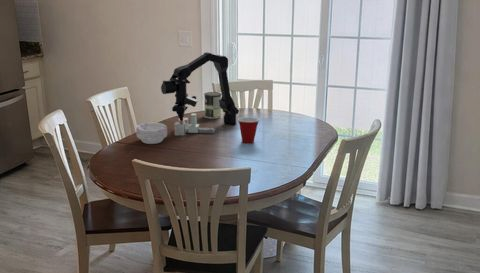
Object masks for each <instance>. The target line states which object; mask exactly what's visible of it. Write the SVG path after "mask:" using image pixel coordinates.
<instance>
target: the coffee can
mask: <svg viewBox="0 0 480 273" xmlns="http://www.w3.org/2000/svg"><path fill="white" fill-rule="evenodd" d="M203 95H204V115H203V116H204V118H206V119H213V120H214V119H219V118H221V117H222V109H221V107H220V106H219V105H220V103H219V100H220V99H221V97H222V94H221V92H218V91H208V92H204V93H203Z"/></svg>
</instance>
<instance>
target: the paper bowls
mask: <svg viewBox="0 0 480 273" xmlns="http://www.w3.org/2000/svg"><path fill="white" fill-rule="evenodd" d="M135 129H136V130H135V134H136V138H138V139H140V140H141V142H142V143H144V144H146V145H147V144H148V145H155V144H159V143H162V142H163V140H164V139H165V138H167V136H168V126H167V125H166V124H164V123H161V122H146V123H140V124H138V125H136V127H135Z"/></svg>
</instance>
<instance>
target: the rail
mask: <svg viewBox="0 0 480 273" xmlns="http://www.w3.org/2000/svg"><path fill="white" fill-rule="evenodd" d="M187 133H188V128H187V132H186V134H187ZM188 134H189V133H188ZM197 134H215V128H212V127H211V128H210V127H209V128H208V127H199V128H198V133H197Z"/></svg>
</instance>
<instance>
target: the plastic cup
mask: <svg viewBox="0 0 480 273" xmlns="http://www.w3.org/2000/svg"><path fill="white" fill-rule="evenodd" d="M237 121H238V124H239V128H240V135H241V141H242V143H244V144H253V143H254V141H255V139H256V138H255V137H256V133H257V128H258V125H259V122H260V118H256V117H255V118H254V117H239V118H237Z"/></svg>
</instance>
